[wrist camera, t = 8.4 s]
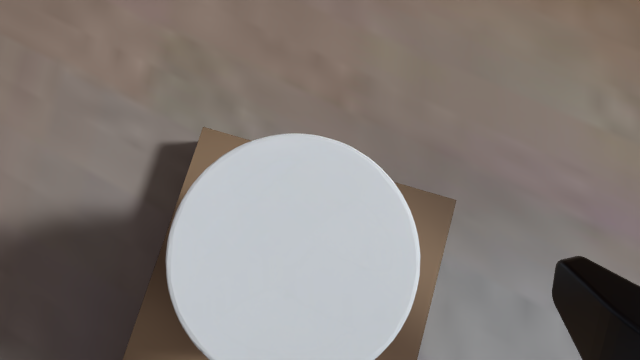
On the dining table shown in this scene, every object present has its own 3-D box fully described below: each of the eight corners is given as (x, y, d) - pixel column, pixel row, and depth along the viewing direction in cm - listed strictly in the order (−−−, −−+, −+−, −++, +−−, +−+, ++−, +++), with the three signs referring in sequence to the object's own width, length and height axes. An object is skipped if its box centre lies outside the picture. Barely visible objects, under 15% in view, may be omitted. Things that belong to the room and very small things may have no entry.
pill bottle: (314, 383, 19) (318, 502, 9) (189, 283, 19) (62, 289, 9) (409, 252, 19) (509, 228, 10) (287, 160, 20) (265, 49, 10)
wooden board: (366, 513, 20) (372, 539, 18) (112, 433, 20) (90, 451, 18) (443, 207, 22) (456, 199, 20) (212, 140, 22) (202, 126, 20)
